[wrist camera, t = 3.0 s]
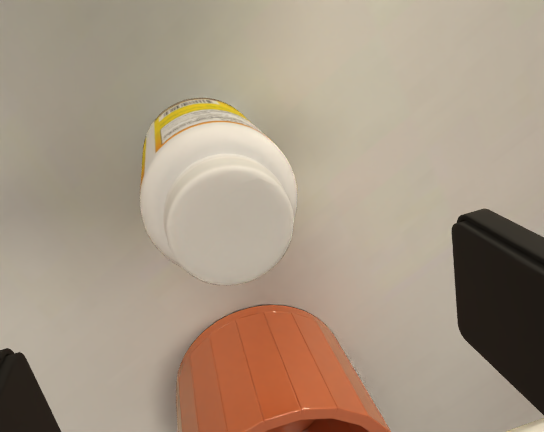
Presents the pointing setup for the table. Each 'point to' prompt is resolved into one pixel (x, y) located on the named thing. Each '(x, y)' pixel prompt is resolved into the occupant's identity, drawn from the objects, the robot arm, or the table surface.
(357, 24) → the table surface
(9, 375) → the robot arm
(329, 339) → the cup
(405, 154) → the table surface
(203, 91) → the table surface
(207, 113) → the supplement bottle
